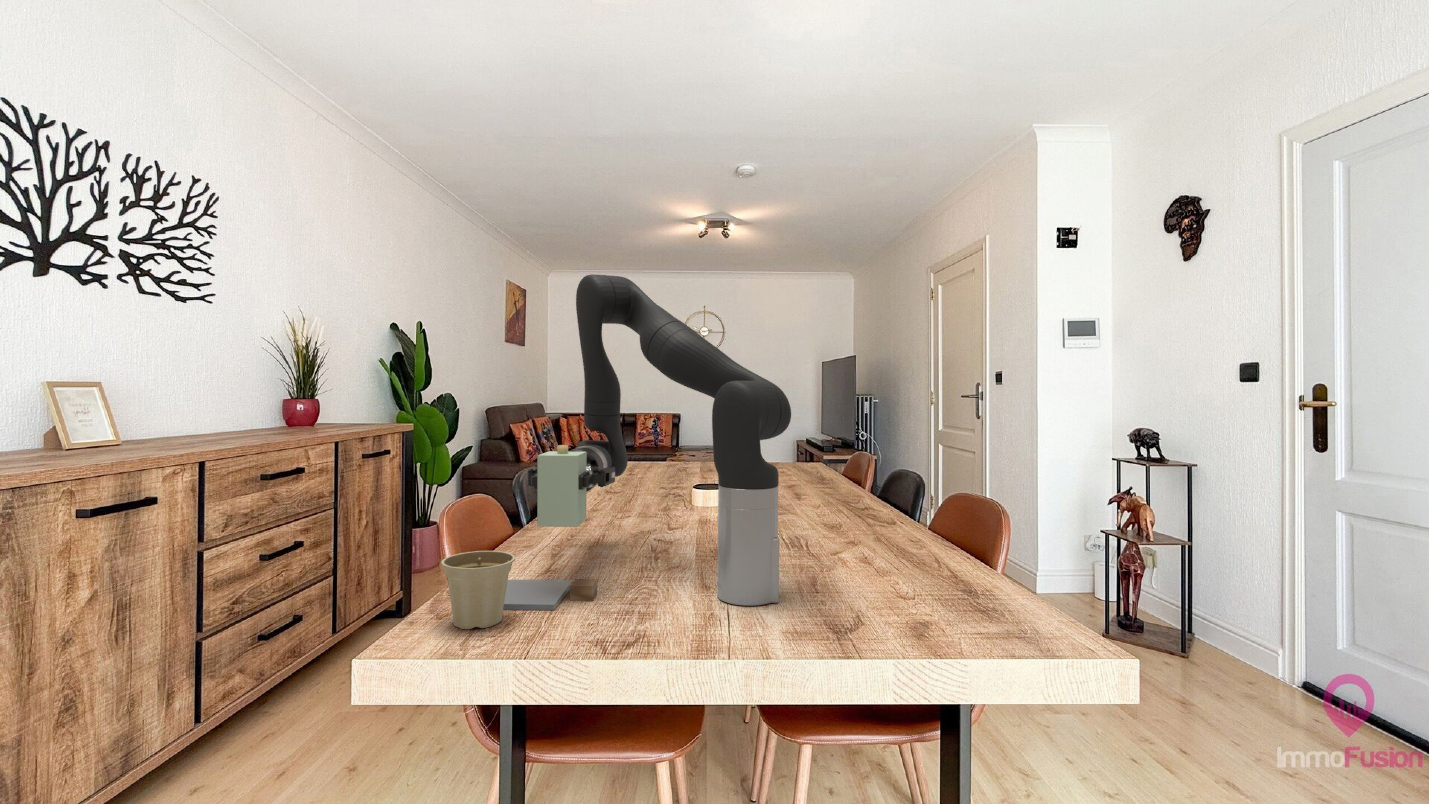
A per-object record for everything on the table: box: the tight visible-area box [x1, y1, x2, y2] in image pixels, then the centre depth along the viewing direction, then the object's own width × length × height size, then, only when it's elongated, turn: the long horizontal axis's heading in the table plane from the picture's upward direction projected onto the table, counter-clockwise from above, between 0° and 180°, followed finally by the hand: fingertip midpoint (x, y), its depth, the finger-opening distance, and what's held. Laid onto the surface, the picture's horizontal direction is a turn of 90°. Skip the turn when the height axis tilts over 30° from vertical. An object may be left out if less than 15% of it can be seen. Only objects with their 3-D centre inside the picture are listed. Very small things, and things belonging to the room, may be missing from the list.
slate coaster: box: [503, 579, 574, 611], centre depth 99 cm, size 12×12×1 cm
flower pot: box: [440, 550, 516, 630], centre depth 88 cm, size 9×9×9 cm
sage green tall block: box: [536, 444, 587, 528], centre depth 99 cm, size 6×6×12 cm
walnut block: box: [569, 578, 598, 602], centre depth 99 cm, size 3×3×2 cm
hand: (558, 482), depth 97 cm, fingers closed on sage green tall block, 6 cm apart
